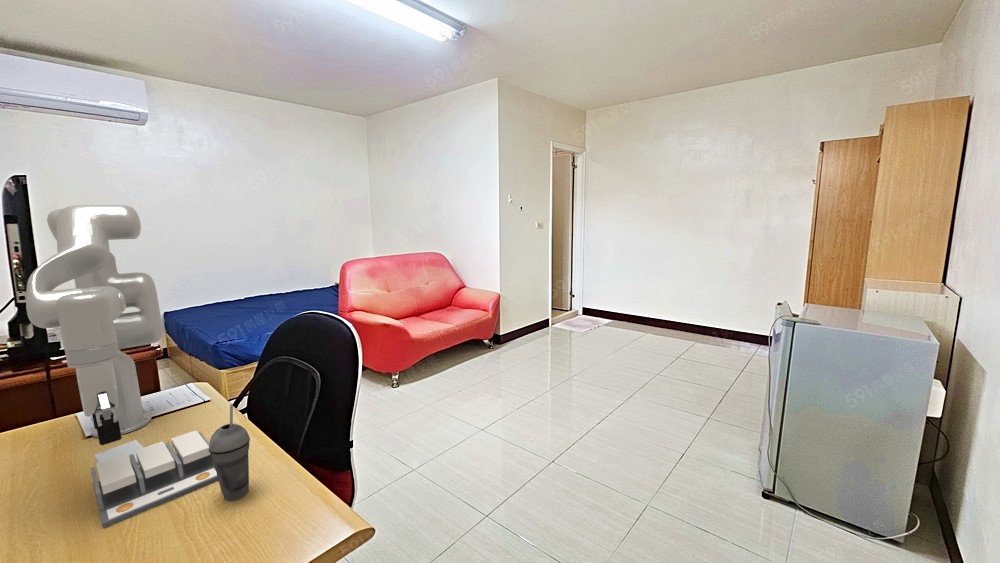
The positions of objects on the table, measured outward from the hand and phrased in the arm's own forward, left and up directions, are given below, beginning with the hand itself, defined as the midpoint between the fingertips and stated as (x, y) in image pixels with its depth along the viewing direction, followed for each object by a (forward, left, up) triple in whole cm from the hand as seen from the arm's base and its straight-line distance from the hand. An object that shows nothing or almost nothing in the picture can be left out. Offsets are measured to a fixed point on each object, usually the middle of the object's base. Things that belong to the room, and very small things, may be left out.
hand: (108, 434), depth 86 cm
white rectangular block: (-1, +7, -11) cm, 13 cm away
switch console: (+1, +7, -14) cm, 16 cm away
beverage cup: (+18, +17, -14) cm, 29 cm away
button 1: (-1, 0, -11) cm, 11 cm away
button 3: (-1, +13, -11) cm, 17 cm away
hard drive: (-17, +3, -15) cm, 22 cm away
